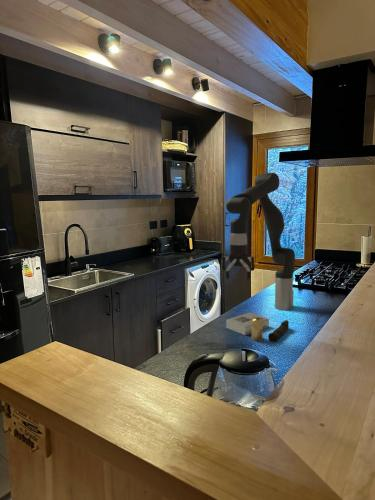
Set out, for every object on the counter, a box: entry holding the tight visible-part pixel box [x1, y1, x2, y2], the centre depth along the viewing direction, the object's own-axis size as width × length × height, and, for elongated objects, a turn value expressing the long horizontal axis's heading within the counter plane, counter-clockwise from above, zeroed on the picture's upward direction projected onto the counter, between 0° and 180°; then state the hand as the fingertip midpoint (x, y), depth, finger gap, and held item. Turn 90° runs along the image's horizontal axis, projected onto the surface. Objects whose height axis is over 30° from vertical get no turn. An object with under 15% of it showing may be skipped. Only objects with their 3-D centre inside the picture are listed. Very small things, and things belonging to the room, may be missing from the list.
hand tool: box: [267, 319, 290, 343], centre depth 154 cm, size 19×4×5 cm, turn 142°
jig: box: [225, 312, 270, 336], centre depth 164 cm, size 16×12×4 cm
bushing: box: [250, 317, 264, 342], centre depth 150 cm, size 5×5×9 cm
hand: (238, 279), depth 155 cm, fingers open, 8 cm apart
